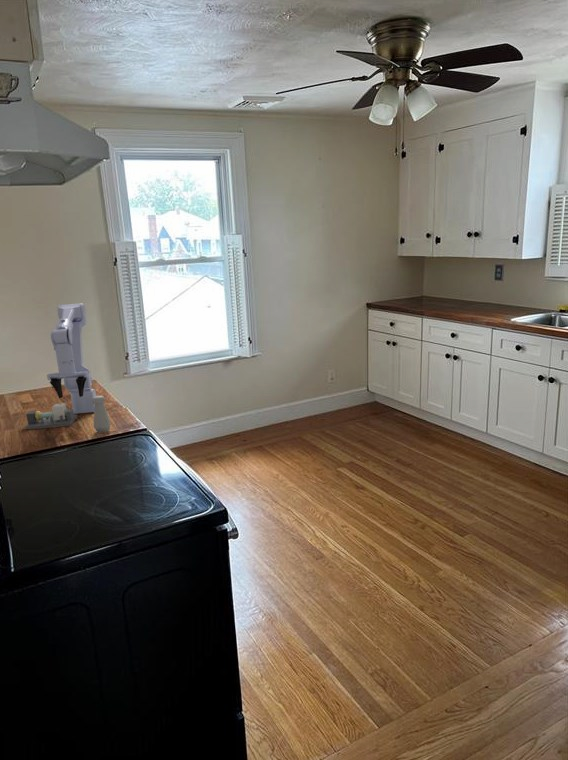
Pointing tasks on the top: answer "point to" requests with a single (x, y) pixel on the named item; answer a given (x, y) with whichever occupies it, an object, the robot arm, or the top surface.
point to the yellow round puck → (37, 415)
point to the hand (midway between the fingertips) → (71, 396)
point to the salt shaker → (100, 415)
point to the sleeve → (59, 411)
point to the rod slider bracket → (49, 420)
